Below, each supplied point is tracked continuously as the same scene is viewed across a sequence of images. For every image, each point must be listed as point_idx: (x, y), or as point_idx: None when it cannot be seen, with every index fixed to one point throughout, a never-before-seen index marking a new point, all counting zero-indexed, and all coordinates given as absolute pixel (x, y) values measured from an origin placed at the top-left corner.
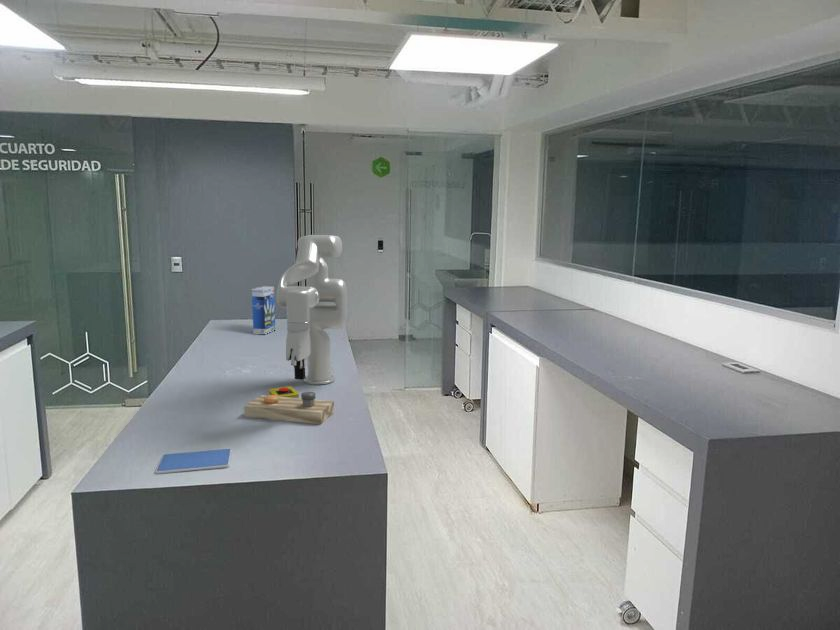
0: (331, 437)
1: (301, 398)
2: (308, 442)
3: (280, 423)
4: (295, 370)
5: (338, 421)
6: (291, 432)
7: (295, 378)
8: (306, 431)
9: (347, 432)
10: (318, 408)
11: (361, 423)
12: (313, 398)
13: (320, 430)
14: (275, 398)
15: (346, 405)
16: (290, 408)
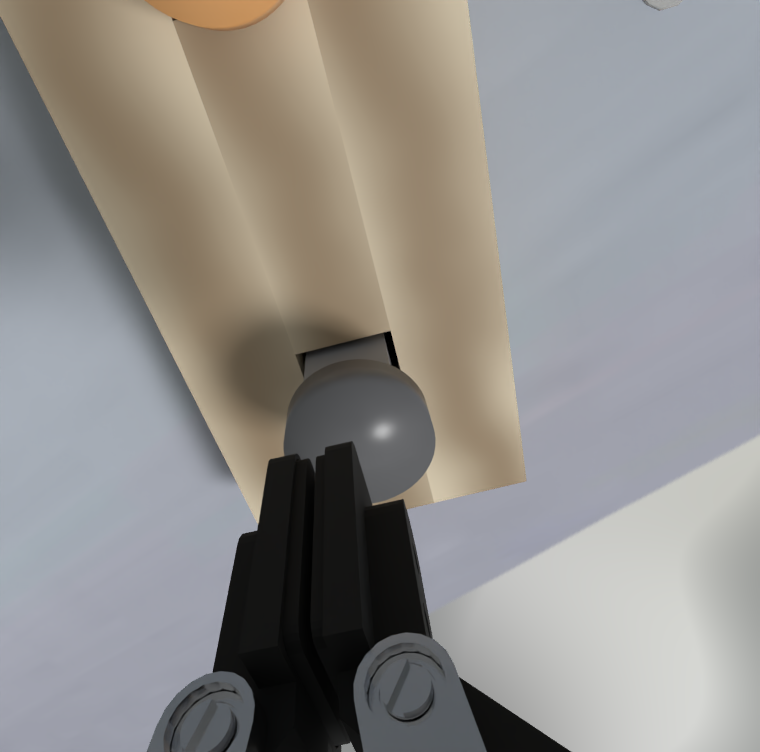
0: (153, 612)
1: (298, 389)
2: (15, 576)
3: (94, 251)
4: (257, 606)
5: None
6: (36, 429)
7: (273, 471)
8: (121, 486)
9: None
10: None
11: None
12: None
13: (190, 531)
14: (193, 23)
15: (657, 415)
16: (186, 309)
